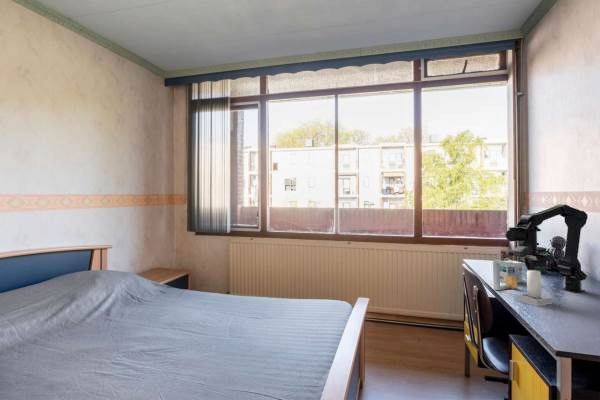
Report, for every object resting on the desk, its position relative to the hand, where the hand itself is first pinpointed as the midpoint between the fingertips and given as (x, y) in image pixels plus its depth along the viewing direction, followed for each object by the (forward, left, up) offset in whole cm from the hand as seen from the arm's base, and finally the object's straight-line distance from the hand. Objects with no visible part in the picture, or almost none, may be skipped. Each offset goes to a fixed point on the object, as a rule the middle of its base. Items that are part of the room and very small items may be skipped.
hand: (530, 272), depth 155 cm
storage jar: (-43, -29, -10) cm, 53 cm away
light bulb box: (-11, -20, -10) cm, 25 cm away
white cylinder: (+10, +10, -9) cm, 17 cm away
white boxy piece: (+5, -5, -10) cm, 12 cm away
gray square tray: (+10, +10, -10) cm, 17 cm away
